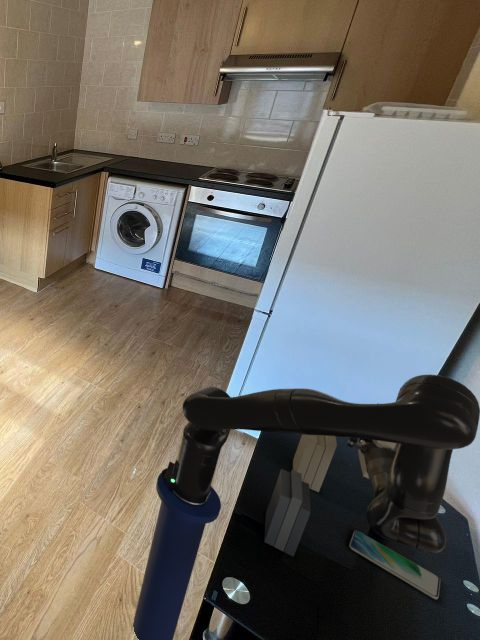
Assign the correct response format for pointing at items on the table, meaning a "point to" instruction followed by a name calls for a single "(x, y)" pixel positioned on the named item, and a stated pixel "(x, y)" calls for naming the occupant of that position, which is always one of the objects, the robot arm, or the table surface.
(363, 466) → the beige thin block
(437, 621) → the table surface
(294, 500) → the grey books
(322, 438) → the beige books
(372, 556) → the smartphone
